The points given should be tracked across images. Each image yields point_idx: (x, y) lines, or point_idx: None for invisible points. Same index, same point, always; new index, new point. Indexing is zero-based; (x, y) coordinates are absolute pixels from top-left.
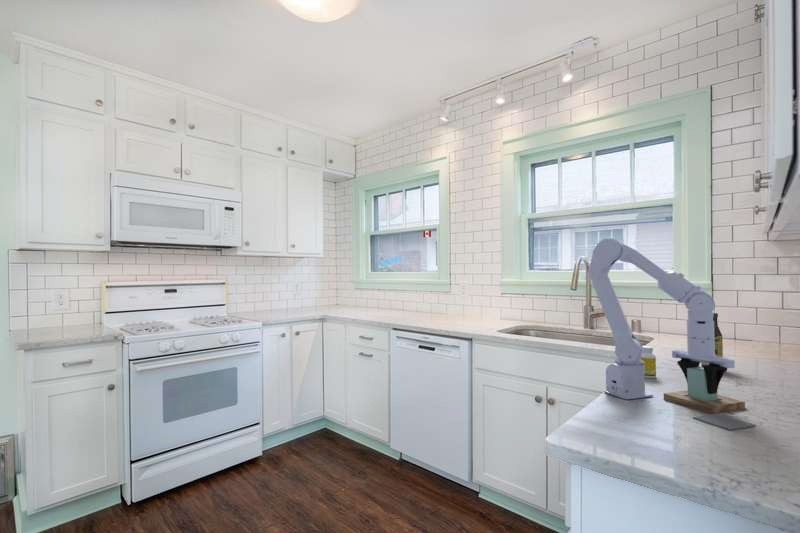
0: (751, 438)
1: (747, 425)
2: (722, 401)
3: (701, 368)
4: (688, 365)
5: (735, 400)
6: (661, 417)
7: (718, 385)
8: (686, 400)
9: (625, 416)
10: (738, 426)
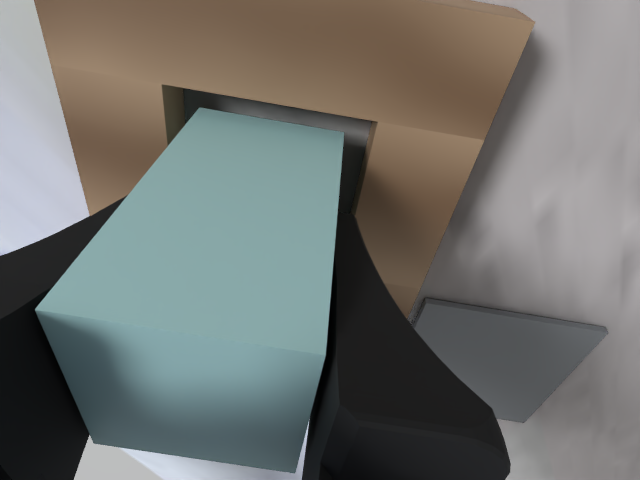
0: (591, 431)
1: (574, 361)
2: (399, 189)
3: (160, 386)
4: (63, 453)
5: (459, 62)
6: None
7: (369, 254)
8: None
9: (259, 476)
10: (544, 388)
